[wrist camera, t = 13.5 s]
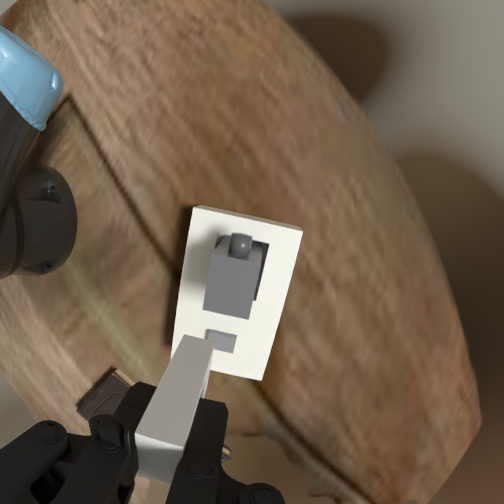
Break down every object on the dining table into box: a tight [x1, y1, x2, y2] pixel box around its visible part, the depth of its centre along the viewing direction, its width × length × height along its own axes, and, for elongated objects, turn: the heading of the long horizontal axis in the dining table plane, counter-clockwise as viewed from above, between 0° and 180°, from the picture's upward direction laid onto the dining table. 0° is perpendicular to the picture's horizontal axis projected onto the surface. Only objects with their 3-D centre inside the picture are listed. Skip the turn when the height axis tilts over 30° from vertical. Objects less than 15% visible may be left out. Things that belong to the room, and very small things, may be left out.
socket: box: [171, 205, 303, 380], centre depth 32 cm, size 11×18×4 cm, turn 168°
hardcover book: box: [76, 369, 232, 463], centre depth 40 cm, size 16×23×2 cm
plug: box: [202, 232, 263, 320], centre depth 29 cm, size 4×7×9 cm, turn 168°
